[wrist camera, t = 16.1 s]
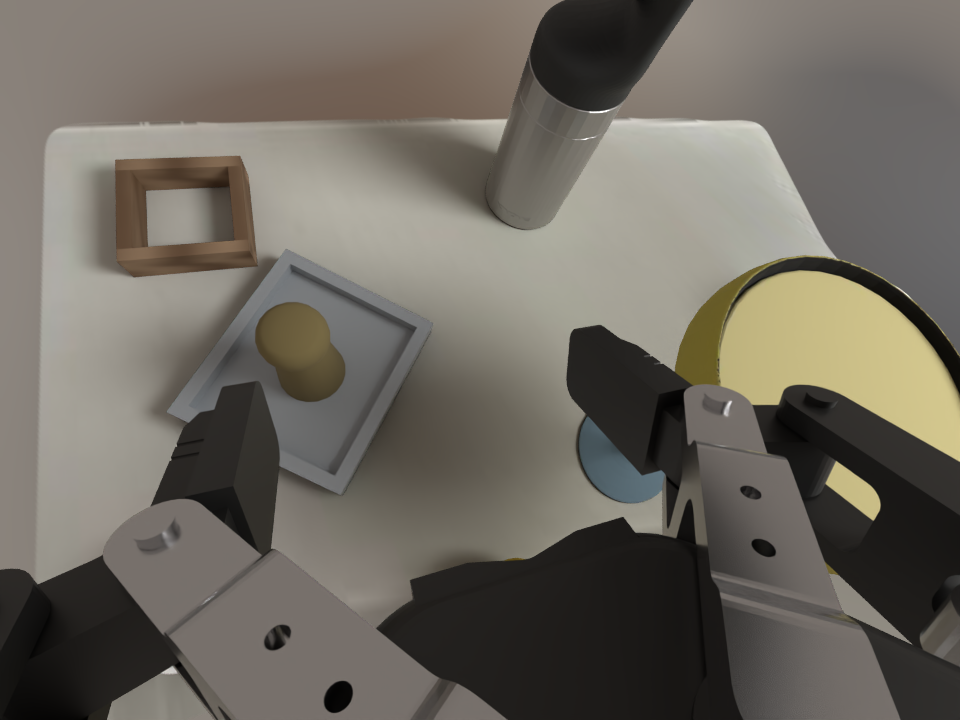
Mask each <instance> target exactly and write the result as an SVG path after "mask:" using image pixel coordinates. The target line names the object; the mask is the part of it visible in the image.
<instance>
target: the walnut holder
mask: <svg viewBox="0 0 960 720" xmlns="http://www.w3.org/2000/svg"><path fill="white" fill-rule="evenodd" d="M115 173H116V249H117V262H118V263H119V264H120V265H121V266H122V267H124V268H125V269H126V270H127V271H128V272H129V273H130V274H131V275H132V276H133V277H142V276H153V275H164V274H175V273H186V272H198V271H209V270H220V269H231V268H243V267H254V266H258V265H257V255H256V245H255V236H254V226H253V216H252V206H251V196H250V187H249V177H248V174H247V171H246V169H245V167H244V164H243V162H242V159H241V157H240V156H221V157H189V158H156V159H124V160H115ZM209 187H230V195H231V207H232V218H233V229H234V240H235V241H221V242H208V243H195V244H181V245H168V246H154V247H148V240H147V210H146V190H166V189H188V188H209Z"/></svg>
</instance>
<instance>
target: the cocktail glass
mask: <svg viewBox="0 0 960 720" xmlns="http://www.w3.org/2000/svg"><path fill="white" fill-rule="evenodd" d="M675 373H677V374H678V375H679V376H681V377H682V378H684V379H685V380H686V381H688V382H689V383H691V384H692V385H693V386H695V385H702V384H709V385H717V386H722V387H725V388H728V389H731V390H734V391H736V392H738V393H740V394H742V395H743V396H744V397H746V398H747V399H748V400H749V401H750V402H751V404H752V405H778V404H779V402H780V399H781V396H782V394H783V391H784V389H785V388H787V387H789V386H792V385H812V386H818V387H822V388H826V389H829V390H832V391H834V392H837V393H839V394H841V395H843V396H845V397H847V398H849V399H850V400H852V401H854V402H856V403H857V404H859V405H861V406H863V407H864V408H866V409H868V410H870V411H871V412H873V413H875V414H877V415H878V416H880V417H882V418H884V419H886V420H887V421H889V422H891V423H893V424H894V425H896V426H898V427H900V428H901V429H903V430H905V431H907V432H908V433H910V434H912V435H914V436H915V437H917V438H919V439H921V440H922V441H924V442H926V443H928V444H929V445H931V446H933V447H935V448H937V449H938V450H940V451H942V452H944V453H945V454H947V455H949V456H951V457H952V458H954V459H956V460H958V461H959V462H960V355H959V354H958V352H957V351H956V349H955V348H954V346H953V344H952V343H951V342H950V341H949V339H948V338H947V337H946V335H945V334H944V333H943V331H942V330H941V329H940V328H939V326H938V325H937V324H936V323H935V322H934V321H933V320H932V318H931V317H929V315H928V314H927V313H926V312H925V311H924V310H923V309H922V308H921V307H920V306H919V305H918V304H916V303H915V302H914V301H913V300H912V299H911V298H909V297H908V296H907V295H906V294H905V293H904V292H902V291H901V290H900V289H898V288H897V287H895V286H894V285H892V284H891V283H889V282H888V281H887V280H885V279H884V278H882V277H880V276H878V275H876V274H874V273H872V272H870V271H868V270H867V269H865V268H862V267H860V266H857V265H854V264H852V263H849V262H846V261H843V260H839V259H834V258H829V257H825V256H807V255H804V256H796V257H789V258H782V259H778V260H776V261H773V262H770V263H767V264H764V265H762V266H759V267H756V268H754V269H752V270H750V271H748V272H746V273H744V274H742V275H741V276H739V277H738V278H736V279H734V280H733V281H731V282H730V283H728V284H727V285H725V286H724V287H722V288H721V289H720V290H718V291H717V292H716V293H715V294H714V295H713V296H712V297H711V298H710V299H709V300H708V301H707V302H706V303H705V304H704V305H703V306H702V307H701V308H700V309H699V311H698V312H697V314H696V315H695V317H694V318H693V320H692V321H691V323H690V324H689V326H688V328H687V330H686V333H685V335H684V337H683V340H682V342H681V345H680V348H679V352H678V356H677V361H676V365H675ZM579 454H580V459H581V462H582V465H583V468H584V470H585V472H586V474H587V476H588V477H589V479H590V480H591V482H592V483H593V484H594V485H595V486H596V487H597V488H598V489H599V490H600V491H601V492H602V493H604V494H605V495H607V496H608V497H610V498H612V499H614V500H617V501H620V502H625V503H639V502H644V501H646V500H649V499H651V498H653V497H654V496H656V495H657V494H658V493H659V492H660V491H661V490H662V484H663V479H664V475H665V473H664V472H663V471H662V470H661V471H657V472H654V473H650V474H646V475H643V476H642V475H641V474H640V473H639V472H638V471H637V470H636V469H635V467H634V466H633V465H632V464H631V463H630V462H629V461H628V460H627V459H626V458H625V456H624V455H623V454H622V453H621V452H620V451H619V450H618V449H617V448H616V446H615V445H614V444H613V443H612V442H611V441H610V440H609V439H608V438H607V437H606V435H605V434H604V433H603V432H602V431H601V430H600V429H599V428H598V427H597V426H596V424H595V423H594V422H593V421H592V420H591V419H590V418H589V417H588V416H587V418H586V419H585V421H584V423H583V425H582V428H581V431H580V435H579ZM826 485H828V486H829V487H830V488H832V489H833V490H834V491H835V492H837V493H838V494H839V495H841V496H842V497H843V498H844V499H846V500H847V501H848V502H850V503H851V504H852V505H854V506H855V507H856V508H857V509H859V510H860V511H861V512H863V513H864V514H865V515H866V516H868V517H869V518H870V519H872V520H873V521H874V519H875V518H876V516H877V514H878V512H879V510H880V499H879V497H878V495H877V493H876V491H875V490H874V489H873V488H872V487H871V486H870V485H869V484H868V483H866V482H865V481H864V480H862V479H861V478H859V477H858V476H856V475H855V474H854V473H852V472H851V471H849V470H848V469H847V468H845V467H844V466H842V465H841V464H840V463H838V462H837V461H836V463H835V465H834V467H833V469H832V471H831V473H830V475H829V477H828V479H827V481H826ZM825 564H826V567H827V570H828V573H830V574H836V575H838V574H837V573H836V572H835V571H834V570H833V569H832V568H831V567H830V566H829V565H828V564H827V563H826V562H825Z"/></svg>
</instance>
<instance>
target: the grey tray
mask: <svg viewBox="0 0 960 720" xmlns="http://www.w3.org/2000/svg"><path fill="white" fill-rule="evenodd" d="M285 302H299V303H303V304H307V305H309V306H311V307H312V308H314V309H316V310H317V311H318V312H320V314H321V315H322V316H323V317H324V318H325V320H326V322H327V324H328V327H329V330H330V342H331V343H332V344H333V346H334V347H335V348H336V349H337V350H338V352H339V353H340V354H341V355H342V357H343V360H344V362H345V377H344V380H343V383H342V385H341V386H340V387H339V389H338V390H337V391H336V392H335V393H334V394H332V395H331V396H330V397H328V398H326V399H323V400H321V401H318V402H304V401H300V400H296V399H295V398H293V397H291V396H290V395H288V394H287V393H286V392H285V390H284V389H283V388H282V387H281V384H280V381H279V379H278V375H277V372H276V369H275V367H274V366H272V365H271V364H269V363H268V362H267V361H266V360H265V359H264V358H263V357H262V355H261V354H260V353H259V352H258V349H257V346H256V343H255V329H256V326H257V324H258V321H259V319H260V318H261V317H262V316H263V315H264V313H265V312H266V311H267V310H269V309H271V308H272V307H274V306H275V305H278V304H282V303H285ZM432 326H433V323H432V322H430V321H428V320H426V319H424V318H423V317H421V316H419V315H417V314H415V313H413V312H411V311H409V310H407V309H405V308H403V307H401V306H399V305H397V304H395V303H393V302H391V301H389V300H387V299H385V298H383V297H381V296H379V295H377V294H375V293H373V292H371V291H369V290H367V289H365V288H363V287H361V286H359V285H357V284H355V283H353V282H351V281H349V280H347V279H345V278H343V277H341V276H339V275H337V274H335V273H333V272H331V271H329V270H327V269H325V268H323V267H321V266H319V265H317V264H315V263H313V262H311V261H309V260H307V259H305V258H303V257H301V256H299V255H297V254H296V253H294V252H292V251H290V250H288V249H286V250H285V251H284V252H283V254H282V255H281V256H280V258H279V259H278V261H277V262H276V263H275V265H274V266H273V267H272V269H271V270H270V271H269V273H268V274H267V276H266V277H265V278H264V280H263V281H262V282H261V284H260V285H259V286H258V288H257V289H256V290H255V292H254V293H253V295H252V296H251V297H250V299H249V300H248V301H247V303H246V304H245V305H244V307H243V308H242V309H241V311H240V312H239V314H238V315H237V316H236V318H235V319H234V320H233V322H232V323H231V324H230V326H229V327H228V329H227V330H226V331H225V333H224V334H223V335H222V337H221V338H220V339H219V341H218V342H217V343H216V345H215V346H214V348H213V349H212V350H211V352H210V353H209V354H208V356H207V357H206V358H205V360H204V361H203V363H202V364H201V365H200V367H199V368H198V369H197V371H196V372H195V373H194V375H193V376H192V377H191V379H190V380H189V382H188V383H187V384H186V386H185V387H184V388H183V390H182V391H181V392H180V394H179V395H178V396H177V398H176V399H175V401H174V402H173V403H172V405H171V406H170V407H169V409H168V410H167V411H166V412H167V413H169V414H171V415H173V416H175V417H177V418H179V419H182V420H184V421H186V422H188V423H189V422H190V421H191V420H192V419H193V418H194V417H195V416H196V415H197V414H198V413H199V412H203V411H209V410H214V409H215V406H216V403H217V400H218V397H219V394H220V391H221V388H222V387H223V386H228V385H234V384H240V383H246V382H253V381H259V382H260V383H261V385H262V388H263V391H264V394H265V397H266V401H267V404H268V407H269V411H270V414H271V417H272V420H273V424H274V427H275V430H276V434H277V438H278V443H279V450H280V463H279V466H280V467H283V468H285V469H287V470H289V471H291V472H293V473H295V474H297V475H299V476H301V477H304V478H306V479H308V480H310V481H312V482H314V483H316V484H318V485H320V486H322V487H325V488H327V489H329V490H331V491H333V492H335V493H337V494H339V495H344V493H345V491H346V489H347V487H348V485H349V483H350V481H351V480H352V478H353V476H354V474H355V472H356V470H357V468H358V467H359V465H360V463H361V461H362V459H363V457H364V455H365V454H366V452H367V450H368V448H369V446H370V444H371V442H372V441H373V439H374V437H375V435H376V433H377V431H378V429H379V428H380V426H381V424H382V422H383V420H384V418H385V416H386V415H387V413H388V411H389V409H390V407H391V405H392V403H393V401H394V400H395V398H396V396H397V394H398V392H399V390H400V388H401V387H402V385H403V383H404V381H405V379H406V377H407V375H408V374H409V372H410V370H411V368H412V366H413V364H414V362H415V361H416V359H417V357H418V355H419V353H420V351H421V349H422V348H423V346H424V344H425V342H426V340H427V338H428V336H429V334H430V333H431V330H432Z"/></svg>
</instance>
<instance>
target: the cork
mask: <svg viewBox="0 0 960 720" xmlns="http://www.w3.org/2000/svg"><path fill="white" fill-rule="evenodd" d="M255 343H256V346H257V349H258V352H259V353H260V354H261V355H262V357H263V358H264V359H265V360H266V361H267V362H268V363H269V364H271V365H272V366H274V367H275V369H276V372H277V375H278V379H279V381H280V384H281V387H282V388H283V389H284V390H285V392H286V393H287V394H288V395H290V396H291V397H293V398H295V399H296V400H300V401H304V402H318V401H321V400H323V399H326V398H328V397H330V396H331V395H332V394H334V393H335V392H336V391H337V390H338V389H339V387H340V386H341V385H342V383H343V380H344V377H345V362H344V360H343V357H342V355H341V354H340V353H339V352H338V350H337V349H336V348H335V347H334V346H333V344H332V343H331V342H330V330H329V327H328V324H327V322H326V320H325V318H324V317H323V316H322V315H321V314H320V312H318V311H317V310H316V309H314V308H312V307H311V306H309V305H307V304H303V303H299V302H285V303H282V304H278V305H275V306H274V307H272V308H271V309H269V310H267V311H266V312H265V313H264V315H263V316H262V317H261V318H260V319H259V321H258V324H257V326H256V329H255Z"/></svg>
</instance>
